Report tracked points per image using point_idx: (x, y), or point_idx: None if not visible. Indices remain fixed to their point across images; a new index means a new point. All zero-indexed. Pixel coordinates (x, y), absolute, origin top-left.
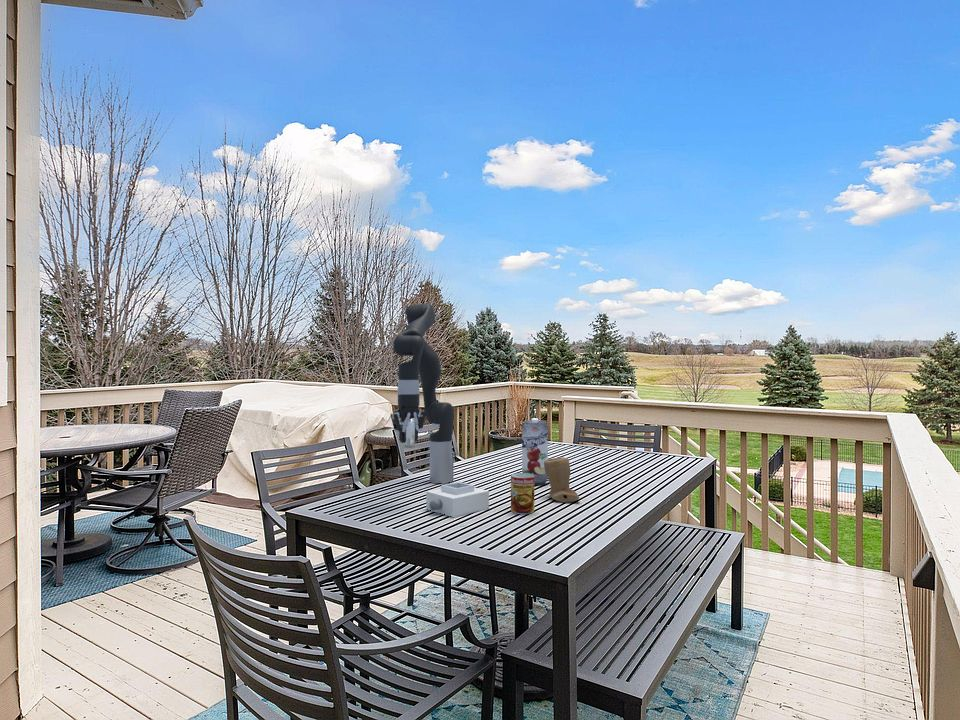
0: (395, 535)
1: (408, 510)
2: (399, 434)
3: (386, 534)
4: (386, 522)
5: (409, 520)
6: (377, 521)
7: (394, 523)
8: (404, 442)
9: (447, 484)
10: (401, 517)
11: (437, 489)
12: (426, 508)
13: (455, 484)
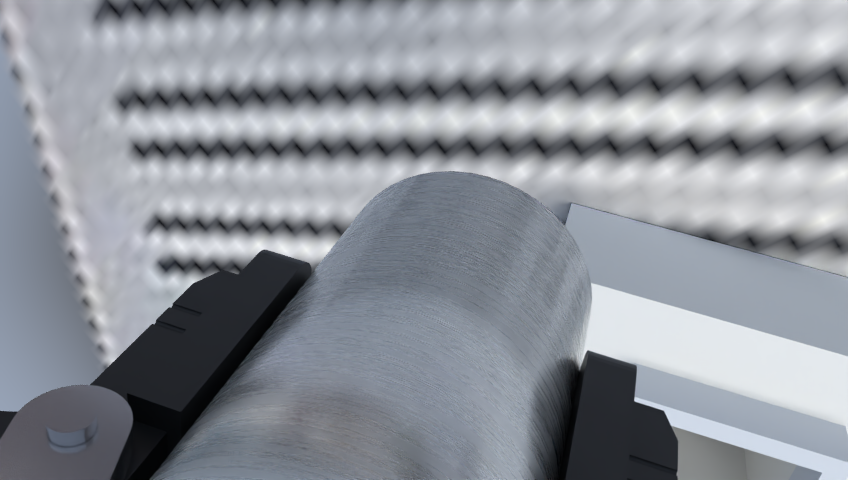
0: (110, 334)
1: (472, 109)
2: (117, 368)
3: (88, 294)
4: (193, 170)
5: (306, 256)
6: (167, 111)
7: (213, 220)
8: None
9: (691, 425)
10: (317, 179)
11: (676, 310)
12: (570, 207)
13: (780, 452)
